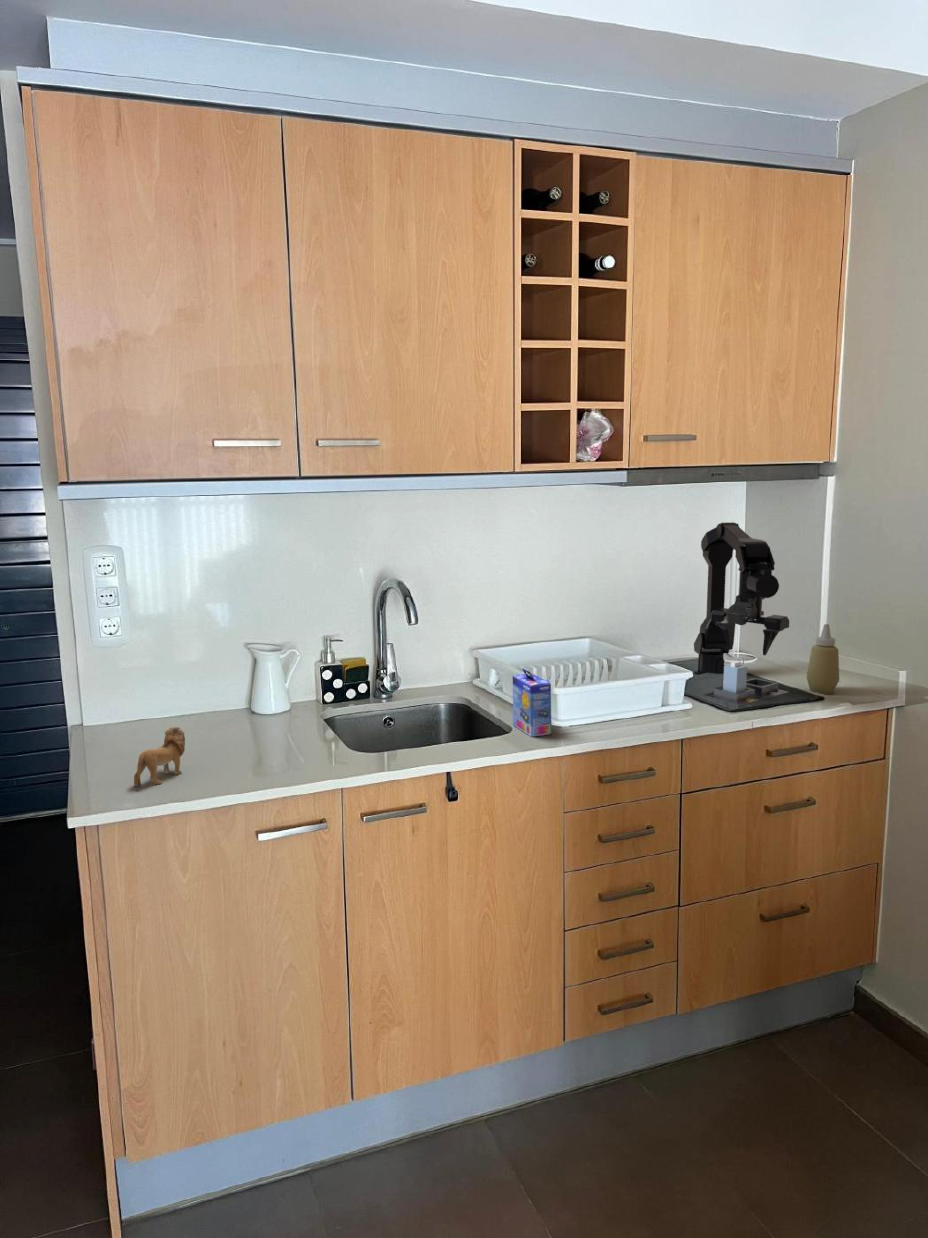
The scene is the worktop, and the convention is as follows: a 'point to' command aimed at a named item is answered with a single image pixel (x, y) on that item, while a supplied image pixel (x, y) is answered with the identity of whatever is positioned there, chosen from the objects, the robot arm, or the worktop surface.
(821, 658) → the squeeze bottle
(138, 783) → the lion figurine
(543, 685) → the ink cartridge box
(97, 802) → the worktop surface
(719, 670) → the robot arm
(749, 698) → the panel
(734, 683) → the plug
